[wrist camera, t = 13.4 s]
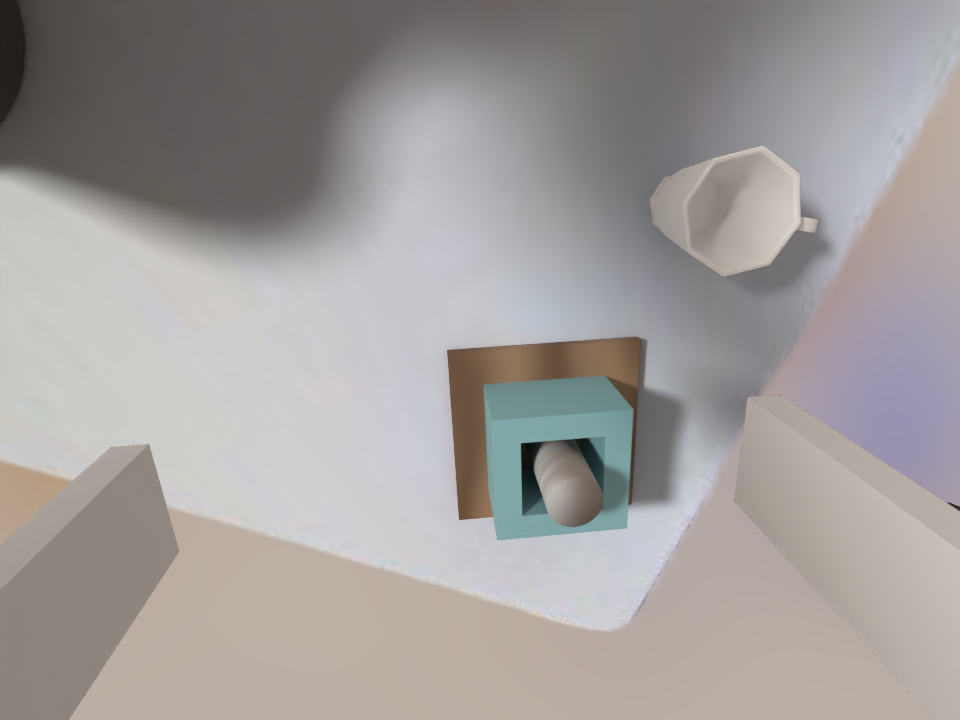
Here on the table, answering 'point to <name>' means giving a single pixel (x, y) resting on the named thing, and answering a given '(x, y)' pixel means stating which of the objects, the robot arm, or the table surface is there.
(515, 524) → the collar
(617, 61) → the table surface
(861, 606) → the robot arm
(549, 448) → the post stand
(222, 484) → the table surface
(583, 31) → the table surface
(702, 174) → the cup
